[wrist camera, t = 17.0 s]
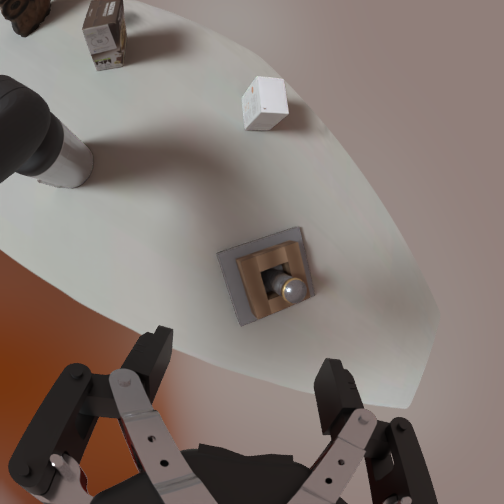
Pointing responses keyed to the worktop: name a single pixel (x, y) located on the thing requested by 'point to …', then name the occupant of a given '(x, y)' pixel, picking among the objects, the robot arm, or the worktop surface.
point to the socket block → (264, 260)
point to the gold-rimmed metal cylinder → (284, 285)
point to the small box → (264, 103)
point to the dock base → (234, 277)
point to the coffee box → (106, 33)
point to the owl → (25, 14)
